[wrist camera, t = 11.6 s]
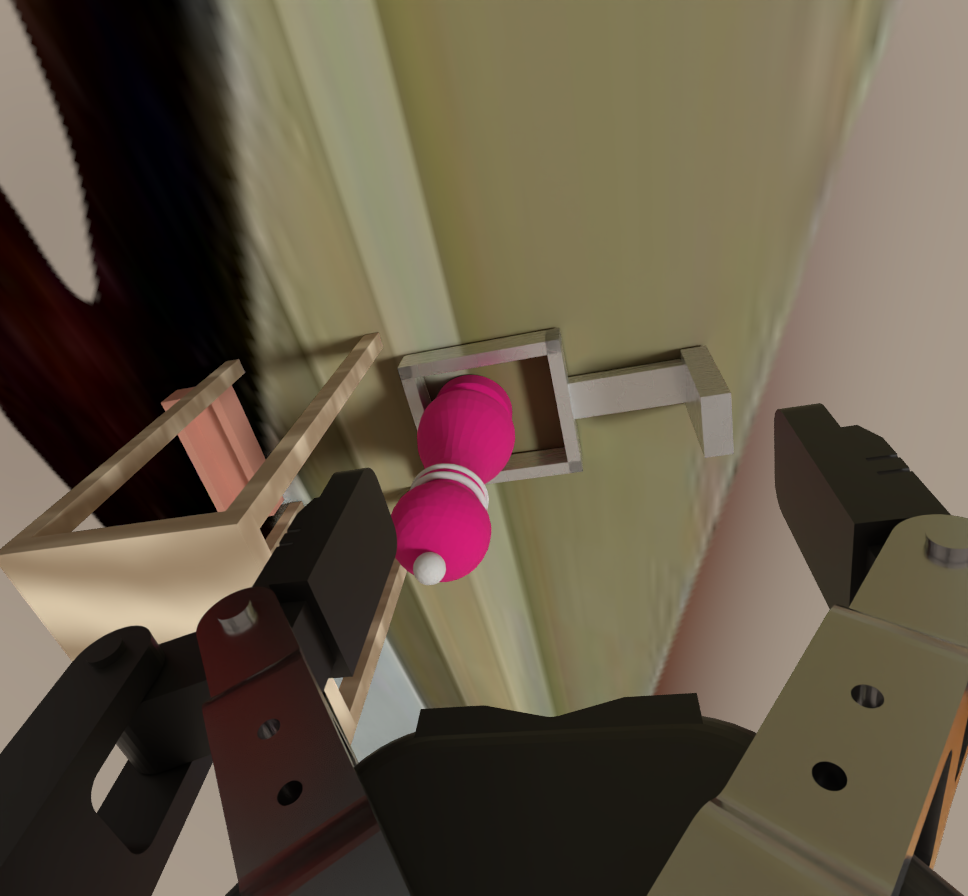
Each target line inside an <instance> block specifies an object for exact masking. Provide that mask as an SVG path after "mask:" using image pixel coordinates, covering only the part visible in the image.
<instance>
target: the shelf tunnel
mask: <svg viewBox="0 0 968 896" xmlns="http://www.w3.org/2000/svg"><path fill="white" fill-rule="evenodd" d="M382 348H383V344H382V341H381V338H380V335H379V332H378V333H372V334H367V335H364V336H363V337H362V338H361V340H360V341H359V342H358V343H357V345H356V346H355V347H354V349H353V350H352V351H351V352H350V354H349V355H348V356H347V357H346V359H345V360H344V361H343V362H342V364H341V365H340V366H339V368H338V369H337V370H336V371H335V373H334V374H333V375H332V376H331V378H330V379H329V380H328V382H327V383H326V384H325V385H324V387H323V388H322V389H321V390H320V392H319V393H318V394H317V396H316V397H315V398H314V399H313V401H312V402H311V403H310V404H309V406H308V407H307V408H306V409H305V411H304V412H303V413H302V415H301V416H300V417H299V418H298V420H297V421H296V422H295V423H294V425H293V426H292V427H291V429H290V430H289V431H288V432H287V434H286V435H285V436H284V437H283V439H282V440H281V441H280V443H279V444H278V445H277V446H276V448H275V449H274V450H273V451H272V453H271V454H270V455H269V456H268V458H267V459H266V460H265V462H264V463H263V464H262V465H261V467H260V468H259V469H258V470H257V472H256V473H255V474H254V476H253V477H252V478H251V479H250V481H249V482H248V483H247V484H246V486H245V487H244V488H243V490H242V491H241V492H240V493H239V495H238V496H237V497H236V498H235V500H234V501H233V502H232V503H231V505H230V506H229V507H228V509H227V510H226V511H223V512H216V513H208V514H201V515H193V516H186V517H179V518H171V519H164V520H157V521H149V522H142V523H135V524H127V525H120V526H113V527H105V528H98V529H91V530H84V531H76V532H72V531H73V530H74V529H75V528H76V527H77V526H78V525H79V524H80V523H81V522H82V521H84V520H85V519H86V518H87V517H88V516H89V515H90V514H91V513H92V512H93V511H95V510H96V509H97V508H98V507H99V506H100V505H101V504H102V503H103V502H104V501H105V500H107V499H108V498H109V497H110V496H111V495H112V494H113V493H114V492H115V491H116V490H117V489H119V488H120V487H121V486H122V485H123V484H124V483H125V482H126V481H127V480H128V479H129V478H131V477H132V476H133V475H134V474H135V473H136V472H137V471H138V470H139V469H140V468H141V467H143V466H144V465H145V464H146V463H147V462H148V461H149V460H150V459H151V458H152V457H153V456H155V455H156V454H157V453H158V452H159V451H160V450H161V449H162V448H163V447H164V446H165V445H167V444H168V443H169V442H170V441H171V440H172V439H173V438H174V437H175V436H176V435H177V434H179V433H180V432H181V431H182V430H183V429H184V428H185V427H186V426H187V425H188V424H189V423H191V422H192V421H193V420H194V419H195V418H196V417H197V416H198V415H199V414H200V413H202V412H203V411H204V410H205V409H206V408H207V407H208V406H209V405H210V404H211V403H212V402H214V401H215V400H216V399H217V398H218V397H219V396H220V395H221V394H222V393H223V392H224V391H226V390H227V389H228V388H229V387H230V386H231V385H232V384H233V383H234V382H235V381H236V380H238V379H239V378H240V377H241V376H242V375H243V374H244V373H245V372H244V369H243V367H242V365H241V363H240V360H239V359H237V360H231V361H226V362H225V363H223V364H222V365H221V366H220V367H219V368H217V369H216V370H215V371H214V372H213V373H211V374H210V375H209V376H208V377H207V378H205V379H204V380H203V381H202V382H201V383H199V384H198V385H197V386H196V387H195V388H193V389H192V390H191V391H190V392H189V393H187V394H186V395H185V396H184V397H183V398H181V399H180V400H179V401H178V402H177V403H175V404H174V405H173V406H172V407H171V408H169V409H168V410H167V411H166V412H165V413H163V414H162V415H161V416H160V417H159V418H157V419H156V420H155V421H154V422H152V423H151V424H150V425H149V426H148V427H146V428H145V429H144V430H143V431H142V432H140V433H139V434H138V435H137V436H136V437H134V438H133V439H132V440H131V441H130V442H128V443H127V444H126V445H125V446H124V447H122V448H121V449H120V450H119V451H118V452H116V453H115V454H114V455H113V456H112V457H110V458H109V459H108V460H107V461H106V462H104V463H103V464H102V465H101V466H100V467H98V468H97V469H96V470H95V471H94V472H92V473H91V474H90V475H89V476H88V477H86V478H85V479H84V480H83V481H82V482H80V483H79V484H78V485H77V486H76V487H74V488H73V489H72V490H71V491H70V492H68V493H67V494H66V495H65V496H63V497H62V498H61V499H60V500H59V501H57V502H56V503H55V504H54V505H53V506H51V508H49V509H48V510H47V511H46V512H44V513H43V514H42V515H41V516H39V517H38V518H37V519H36V520H35V521H33V522H32V523H31V524H30V525H29V526H27V527H26V528H25V529H24V530H23V531H21V532H20V533H19V534H18V535H17V536H15V537H14V538H13V539H12V540H11V541H9V542H8V543H7V544H6V545H5V546H3V547H2V548H1V549H0V567H1V569H2V570H3V571H4V573H5V574H6V575H7V576H8V578H9V579H10V581H11V582H12V583H13V584H14V586H15V587H16V589H17V590H18V591H19V592H20V594H21V595H22V596H23V598H24V599H25V600H26V602H27V603H28V604H29V606H30V607H31V608H32V609H33V611H34V612H35V613H36V615H37V616H38V617H39V619H40V620H41V621H42V622H43V624H44V625H45V626H46V628H47V629H48V630H49V632H50V633H51V634H52V636H53V637H54V638H55V640H56V641H57V642H58V644H59V645H60V646H61V648H62V649H63V650H64V651H65V653H66V654H67V655H68V657H69V658H70V659H71V661H72V662H73V661H74V659H75V658H76V657H77V656H78V655H79V654H80V653H81V652H82V651H83V650H84V649H85V648H87V647H88V646H89V645H90V644H92V643H93V642H95V641H96V640H98V639H99V638H101V637H103V636H104V635H106V634H108V633H110V632H113V631H115V630H117V629H120V628H124V627H128V626H136V625H137V626H143V627H146V628H147V629H149V631H150V632H151V634H152V635H153V637H154V638H155V640H156V641H157V643H158V644H161V643H164V642H167V641H170V640H173V639H176V638H179V637H182V636H185V635H188V634H191V633H194V632H196V629H197V626H198V623H199V621H200V620H201V618H202V617H203V615H204V614H205V613H206V612H207V611H208V610H209V609H210V608H211V607H212V606H213V605H214V604H216V603H217V602H218V601H220V600H221V599H223V598H224V597H226V596H228V595H230V594H232V593H234V592H236V591H239V590H242V589H245V588H249V587H252V586H253V584H254V583H255V581H256V579H257V578H258V576H259V575H260V573H261V571H262V570H263V568H264V566H265V565H266V563H267V562H268V560H269V558H270V557H271V555H272V553H273V552H274V550H275V549H276V547H278V546H279V542H280V540H281V539H282V537H283V536H284V534H285V533H287V529H288V528H289V526H290V524H291V523H292V521H293V519H294V518H295V516H296V515H297V513H298V512H299V511H301V510H302V509H303V508H304V505H303V503H302V501H300V502H293V503H289V505H288V506H287V508H286V510H285V511H284V513H283V514H282V516H281V517H280V519H279V520H278V522H277V523H276V525H275V526H274V528H273V530H272V531H271V533H270V534H269V536H268V537H267V539H266V540H265V539H264V537H263V535H262V533H261V531H260V528H261V526H262V525H263V523H264V522H265V520H266V519H267V517H268V516H269V514H270V513H271V511H272V510H273V508H274V507H275V505H276V504H277V503H278V501H279V500H280V498H281V497H282V495H283V494H284V492H285V491H286V489H287V488H288V486H289V485H290V483H291V482H292V481H293V479H294V478H295V476H296V475H297V473H298V472H299V470H300V469H301V467H302V466H303V464H304V463H305V461H306V460H307V458H308V457H309V456H310V454H311V453H312V451H313V450H314V448H315V447H316V445H317V444H318V442H319V441H320V439H321V438H322V436H323V435H324V433H325V432H326V431H327V429H328V428H329V426H330V425H331V423H332V422H333V420H334V419H335V417H336V416H337V414H338V413H339V411H340V410H341V408H342V407H343V406H344V404H345V403H346V401H347V400H348V398H349V397H350V395H351V394H352V392H353V391H354V389H355V388H356V386H357V385H358V383H359V382H360V381H361V379H362V378H363V376H364V375H365V373H366V372H367V370H368V369H369V367H370V366H371V364H372V363H373V361H374V360H375V359H376V357H377V356H378V354H379V353H380V351H381V350H382ZM406 572H407V570H406V569H405V568H404V567H402V566H401V564H400V563H399V562H398V561H397V559H396V558H395V559H394V562H393V564H392V567H391V570H390V573H389V576H388V578H387V581H386V584H385V587H384V590H383V593H382V595H381V598H380V601H379V604H378V607H377V609H376V612H375V615H374V618H373V621H372V623H371V626H370V629H369V632H368V635H367V638H366V640H365V643H364V646H363V649H362V652H361V654H360V657H359V660H358V663H357V666H356V668H355V671H354V674H353V677H343V680H342V683H341V685H340V688H339V689H338V687H337V685H336V683H335V681H334V679H333V678H328V681H327V683H326V686H325V689H324V691H325V693H326V695H327V697H328V699H329V701H330V703H331V705H332V707H333V709H334V711H335V714H336V716H337V718H338V720H339V722H340V724H341V726H342V728H343V731H344V733H345V735H346V737H347V739H348V741H349V743H350V745H351V743H352V740H353V737H354V733H355V730H356V727H357V724H358V721H359V718H360V715H361V712H362V709H363V706H364V702H365V699H366V696H367V693H368V690H369V687H370V684H371V681H372V678H373V675H374V671H375V668H376V665H377V662H378V659H379V656H380V653H381V650H382V647H383V644H384V640H385V637H386V634H387V631H388V628H389V625H390V622H391V619H392V616H393V613H394V609H395V606H396V603H397V600H398V597H399V594H400V591H401V588H402V585H403V582H404V578H405V575H406Z"/></svg>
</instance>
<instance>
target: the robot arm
mask: <svg viewBox="0 0 968 896" xmlns="http://www.w3.org/2000/svg"><path fill="white" fill-rule="evenodd" d="M774 443H775V445H774V449H775V488H776V494H777V499H778V503H779V506H780V509H781V512H782V514H783V516H784V518H785V520H786V522H787V524H788V526H789V528H790V530H791V532H792V534H793V536H794V538H795V540H796V542H797V544H798V546H799V548H800V550H801V552H802V554H803V556H804V558H805V560H806V562H807V564H808V566H809V568H810V570H811V572H812V574H813V576H814V578H815V580H816V582H817V584H818V586H819V588H820V590H821V592H822V594H823V596H824V598H825V600H826V602H827V604H828V606H829V608H830V610H829V612H828V613H827V615H826V617H825V618H824V620H823V622H822V623H821V625H820V627H819V628H818V630H817V632H816V634H815V635H814V637H813V639H812V640H811V642H810V644H809V645H808V647H807V649H806V650H805V652H804V654H803V656H802V657H801V659H800V661H799V662H798V664H797V666H796V667H795V669H794V671H793V673H792V674H791V676H790V678H789V679H788V681H787V683H786V684H785V686H784V688H783V690H782V691H781V693H780V695H779V696H778V698H777V700H776V701H775V703H774V705H773V707H772V708H771V710H770V712H769V713H768V715H767V717H766V718H765V720H764V722H763V724H762V725H761V727H760V729H759V730H758V732H757V733H755V732H753V731H751V730H748V729H745V728H743V727H740V726H738V725H736V724H733V723H729V722H726V721H722V720H719V719H715V718H710V717H704V716H701V711H700V706H699V702H698V698H697V693H690V694H672V695H654V696H637V697H623V698H620V699H616V700H613V701H609V702H606V703H602V704H599V705H595V706H592V707H588V708H585V709H581V710H578V711H574V712H571V713H567V714H564V715H561V716H556V717H544V716H539V715H533V714H528V713H522V712H517V711H511V710H506V709H501V708H495V707H490V706H467V707H450V708H433V709H421V711H420V715H419V719H418V724H417V728H416V732H414V733H411V734H408V735H405V736H403V737H401V738H398V739H396V740H393V741H392V742H390V743H388V744H386V745H384V746H382V747H380V748H379V749H377V750H376V751H374V752H373V753H371V754H370V755H368V756H367V757H366V758H364V759H363V760H362V761H361V762H358V760H357V758H356V756H355V754H354V752H353V750H352V748H351V745H350V743H349V741H348V739H347V737H346V735H345V733H344V731H343V728H342V726H341V724H340V722H339V720H338V718H337V716H336V714H335V711H334V709H333V707H332V705H331V703H330V701H329V699H328V697H327V695H326V693H325V691H324V689H325V686H326V683H327V681H328V678H341V677H353V674H354V671H355V668H356V666H357V663H358V660H359V657H360V654H361V652H362V649H363V646H364V643H365V640H366V638H367V635H368V632H369V629H370V626H371V623H372V621H373V618H374V615H375V612H376V609H377V607H378V604H379V601H380V598H381V595H382V593H383V590H384V587H385V584H386V581H387V578H388V576H389V573H390V570H391V567H392V564H393V562H394V559H395V556H396V552H397V535H396V530H395V526H394V523H393V520H392V518H391V515H390V512H389V509H388V507H387V504H386V501H385V498H384V496H383V493H382V490H381V487H380V485H379V482H378V479H377V477H376V475H375V473H374V471H373V470H372V469H370V468H362V469H356V470H349V471H342V472H336V473H334V474H333V475H332V477H331V479H330V480H329V482H328V484H327V486H326V487H325V489H324V491H323V492H322V494H321V496H320V497H319V498H314V499H313V500H312V501H311V502H310V503H309V504H307V505H306V506H305V507H304V508H303V509H302V510H301V511H299V512H298V513H297V515H296V516H295V518H294V519H293V521H292V523H291V524H290V526H289V528H288V529H287V533H285V534H284V536H283V537H282V539H281V540H280V542H279V546H278V547H276V549H275V550H274V552H273V553H272V555H271V557H270V558H269V560H268V562H267V563H266V565H265V566H264V568H263V570H262V571H261V573H260V575H259V576H258V578H257V579H256V581H255V583H254V584H253V586H252V587H249V588H245V589H242V590H239V591H236V592H234V593H232V594H230V595H228V596H226V597H224V598H223V599H221V600H220V601H218V602H217V603H216V604H214V605H213V606H212V607H211V608H210V609H209V610H208V611H207V612H206V613H205V614H204V615H203V617H202V618H201V620H200V621H199V623H198V626H197V629H196V632H194V633H191V634H188V635H185V636H182V637H179V638H176V639H173V640H170V641H167V642H164V643H161V644H158V643H157V641H156V640H155V638H154V637H153V635H152V634H151V632H150V631H149V629H147V628H146V627H143V626H137V625H136V626H128V627H124V628H120V629H117V630H115V631H113V632H110V633H108V634H106V635H104V636H103V637H101V638H99V639H98V640H96V641H95V642H93V643H92V644H90V645H89V646H88V647H87V648H85V649H84V650H83V651H82V652H81V653H80V654H79V655H78V656H77V657H76V658H75V659H74V661H73V662H72V663H71V664H70V666H69V667H68V668H67V670H66V671H65V672H64V673H63V675H62V676H61V677H60V678H59V680H58V681H57V682H56V683H55V685H54V686H53V687H52V689H51V690H50V691H49V692H48V694H47V695H46V696H45V698H44V699H43V700H42V701H41V703H40V704H39V705H38V706H37V708H36V709H35V710H34V711H33V713H32V714H31V715H30V717H29V718H28V719H27V721H26V722H25V723H24V724H23V726H22V727H21V728H20V729H19V731H18V732H17V733H16V734H15V736H14V737H13V738H12V740H11V741H10V742H9V743H8V745H7V746H6V747H5V748H4V750H3V751H2V752H1V754H0V896H151V895H152V893H153V891H154V889H155V887H156V885H157V882H158V880H159V878H160V876H161V874H162V871H163V869H164V867H165V865H166V863H167V860H168V858H169V856H170V854H171V852H172V850H173V847H174V845H175V843H176V841H177V839H178V837H179V834H180V832H181V830H182V828H183V826H184V824H185V821H186V819H187V817H188V815H189V813H190V810H191V808H192V806H193V804H194V802H195V799H196V797H197V795H198V793H199V791H200V789H201V786H202V784H203V782H204V780H205V778H206V775H207V773H208V771H209V769H210V767H211V765H212V763H213V765H214V769H215V774H216V779H217V783H218V788H219V793H220V798H221V802H222V807H223V812H224V817H225V821H226V825H227V831H228V836H229V840H230V845H231V850H232V854H233V859H234V863H235V868H236V873H237V878H238V883H237V884H236V885H235V886H234V887H233V888H232V889H231V890H230V891H229V892H228V893H227V894H226V895H225V896H964V895H963V894H961V893H960V892H959V891H958V890H956V889H955V888H954V887H953V886H951V885H950V884H949V883H948V882H947V881H946V880H944V879H943V878H942V877H941V876H939V875H938V874H937V873H936V872H935V871H933V868H934V865H935V862H936V858H937V855H938V851H939V848H940V844H941V841H942V837H943V834H944V830H945V826H946V822H947V818H948V814H949V811H950V808H951V804H952V801H953V798H954V795H955V792H956V788H957V785H958V782H959V779H960V776H961V773H962V770H963V767H964V764H965V761H966V758H967V755H968V518H964V517H959V516H953V515H950V513H949V512H948V511H947V510H946V509H945V508H944V507H943V505H942V504H941V503H940V502H939V501H938V500H937V499H936V497H935V496H934V495H933V494H932V493H931V492H930V491H929V490H928V488H927V487H926V486H925V485H924V484H923V483H922V482H921V481H920V479H919V478H918V477H917V476H916V475H915V474H914V473H913V472H912V471H911V472H910V470H909V467H908V466H907V465H906V463H905V462H904V461H903V460H902V459H901V458H898V457H897V453H896V452H895V451H894V450H893V449H892V448H891V447H890V445H889V444H888V443H887V442H886V441H885V440H884V439H883V438H882V437H880V436H878V435H876V434H874V433H872V432H870V431H868V430H866V429H864V428H862V427H860V426H858V425H854V426H847V427H840V426H839V424H838V423H837V422H836V420H835V419H834V418H833V417H832V415H831V414H830V413H829V412H828V410H827V409H826V408H825V407H824V405H822V404H820V403H819V404H811V405H805V406H798V407H791V408H784V409H778V410H777V411H776V413H775V418H774ZM115 744H117V746H118V747H119V748H120V749H121V751H122V752H123V753H124V755H125V756H126V757H127V758H128V761H127V763H126V764H125V766H124V768H123V769H122V771H121V773H120V775H119V776H118V778H117V780H116V781H115V783H114V785H113V786H112V788H111V790H110V792H109V793H108V795H107V797H106V798H105V800H104V802H103V803H102V806H101V807H100V809H99V810H98V812H97V813H96V812H95V811H94V809H93V806H92V803H91V790H92V786H93V782H94V779H95V777H96V775H97V773H98V772H99V770H100V768H101V767H102V765H103V764H104V762H105V760H106V759H107V757H108V756H109V754H110V752H111V751H112V749H113V748H114V746H115Z"/></svg>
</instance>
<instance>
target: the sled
mask: <svg viewBox="0 0 968 896" xmlns="http://www.w3.org/2000/svg"><path fill="white" fill-rule="evenodd" d="M680 352H681V359H676V360H670V361H664V362H658V363H652V364H646V365H640V366H634V367H628V368H622V369H616V370H610V371H603V372H597V373H591V374H585V375H579V376H573V377H568V374H567V368H566V362H565V357H564V351H563V346H562V340H561V334H560V329H559V328H555V329H549V330H544V331H538V332H533V333H527V334H521V335H516V336H510V337H505V338H499V339H494V340H488V341H483V342H477V343H472V344H466V345H461V346H455V347H450V348H444V349H439V350H433V351H428V352H422V353H417V354H411V355H406V356H404V357H403V359H402V361H401V362H400V364H399V366H398V368H397V369H398V372H399V375H400V378H401V381H402V385H403V388H404V391H405V394H406V397H407V400H408V404H409V407H410V410H411V413H412V416H413V419H414V422H415V426H416V429H417V432H418V427H419V423H420V419H421V416H422V414H423V412H424V411H425V409H426V408H427V407H428V405H429V404H430V403H431V400H430V397H429V393H428V390H427V387H426V383H425V380H424V376H429V375H435V374H440V373H446V372H452V371H458V370H463V369H469V368H475V367H481V366H487V365H492V364H498V363H504V362H510V361H515V360H521V359H527V358H533V357H538V356H544V355H547V356H548V361H549V366H550V371H551V377H552V382H553V387H554V392H555V397H556V402H557V408H558V413H559V418H560V423H561V428H562V434H563V439H564V444H565V447H562V448H555V449H548V450H541V451H534V452H527V453H520V454H513V455H511V456H510V459H509V461H508V462H507V464H506V465H505V467H504V468H503V469H502V470H501V472H500V473H499V474H498V475H497V476H496V477H495V478H493V479H492V480H490V481H489V482H487V483H486V484H491V483H498V482H506V481H513V480H521V479H529V478H536V477H544V476H551V475H559V474H566V473H574V472H581V471H583V463H582V452H581V446H580V441H579V435H578V429H577V424H576V419H579V418H586V417H592V416H599V415H606V414H612V413H619V412H626V411H632V410H639V409H646V408H652V407H659V406H665V405H672V404H679V403H685V405H686V408H687V411H688V413H689V416H690V419H691V422H692V424H693V427H694V430H695V433H696V435H697V438H698V441H699V443H700V446H701V449H702V452H703V454H704V457H705V458H706V457H714V456H721V455H729V454H734V448H733V427H732V405H731V392H730V390H729V388H728V386H727V384H726V382H725V381H724V379H723V377H722V375H721V373H720V371H719V369H718V367H717V365H716V363H715V362H714V360H713V358H712V356H711V354H710V352H709V350H708V348H707V346H700V347H694V348H688V349H682V350H680Z"/></svg>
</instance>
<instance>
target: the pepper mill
mask: <svg viewBox="0 0 968 896" xmlns="http://www.w3.org/2000/svg"><path fill="white" fill-rule="evenodd" d="M514 442H515V430H514V425H513V422H512V405H511V402H510V399H509V397H508V395H507V394H506V392H505V391H504V390H503V389H502V387H501V386H499V385H498V384H497V383H495V382H494V381H492V380H490V379H488V378H486V377H483V376H478V375H464V376H460V377H457V378H454V379H452V380H450V381H449V382H448V383H446V384H445V385H444V386H443V387H442V389H441V390H440V391H439V393H438V395H437V397H436V399H434V400H433V401H432V402H431V403H430V404H429V405H428V407H427V408H426V409H425V411H424V412H423V414H422V416H421V419H420V423H419V427H418V432H417V444H418V452H419V456H420V458H421V461H422V463H423V465H424V470H423V471H421V472H420V473H419V474H418V475H417V476H416V477H415V479H414V481H413V483H412V485H411V488H410V490H409V491H408V492H407V493H406V494H405V495H403V496H402V497H401V498H400V500H399V501H398V503H397V504H396V506H395V507H394V509H393V512H392V514H391V518H392V520H393V523H394V526H395V530H396V535H397V552H396V556H395V558H396V559H397V561H398V562H399V563H400V564H401V566H402V567H404V568H405V569H406V570H407V571H408V572H410V573H411V574H413V575H415V578H416V579H417V580H418V581H419V582H420V583H422V584H425V585H433V584H436V583H438V582H449V581H453V580H457V579H459V578H462V577H464V576H465V575H467V574H469V573H470V572H471V571H473V570H474V569H475V568H476V567H477V566H478V564H479V563H480V562H481V561H482V559H483V558H484V556H485V554H486V552H487V550H488V546H489V543H490V537H491V523H490V519H489V515H488V513H487V508H488V502H489V497H488V492H487V489H486V487H485V484H486V483H487V482H489V481H490V480H492V479H493V478H495V477H496V476H497V475H498V474H499V473H500V472H501V470H502V469H503V468H504V467H505V465H506V464H507V462H508V461H509V459H510V456H511V454H512V451H513V447H514Z"/></svg>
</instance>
